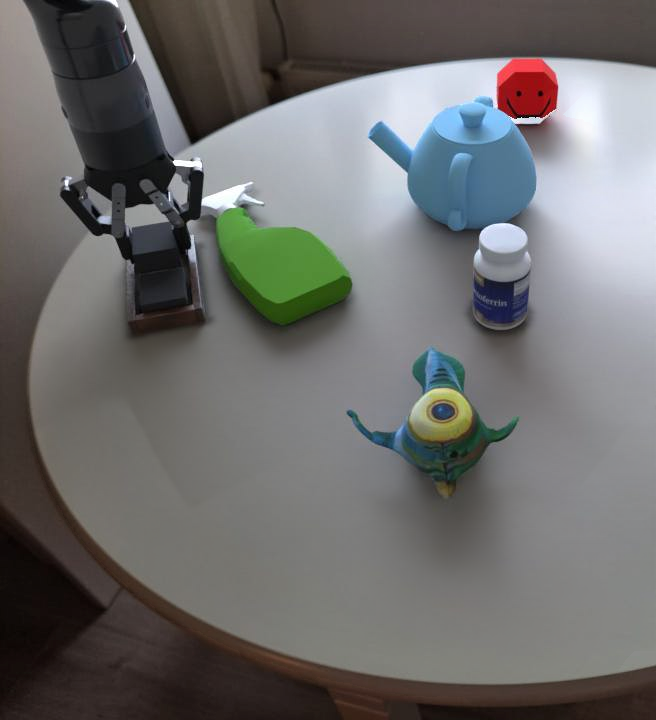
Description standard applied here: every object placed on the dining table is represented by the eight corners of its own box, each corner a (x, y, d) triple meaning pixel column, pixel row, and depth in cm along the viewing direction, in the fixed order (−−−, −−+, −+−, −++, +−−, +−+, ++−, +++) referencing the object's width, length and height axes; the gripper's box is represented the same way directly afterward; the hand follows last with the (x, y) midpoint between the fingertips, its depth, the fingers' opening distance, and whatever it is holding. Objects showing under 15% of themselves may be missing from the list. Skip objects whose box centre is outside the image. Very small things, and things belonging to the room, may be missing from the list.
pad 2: (147, 324, 82) (139, 305, 80) (146, 293, 86) (139, 274, 84) (191, 316, 83) (185, 297, 81) (188, 286, 87) (182, 267, 85)
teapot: (523, 260, 90) (530, 162, 81) (351, 239, 93) (339, 141, 84) (543, 166, 104) (551, 73, 95) (393, 150, 106) (386, 57, 97)
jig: (132, 335, 81) (127, 321, 80) (130, 258, 90) (125, 245, 88) (205, 321, 83) (201, 308, 82) (197, 247, 91) (193, 234, 90)
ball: (498, 132, 110) (500, 79, 104) (495, 103, 116) (496, 51, 110) (556, 132, 110) (561, 79, 105) (550, 103, 116) (555, 51, 110)
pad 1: (139, 274, 84) (132, 255, 83) (138, 246, 88) (131, 227, 86) (182, 267, 85) (176, 247, 83) (180, 239, 89) (174, 220, 87)
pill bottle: (461, 317, 84) (461, 240, 77) (492, 288, 87) (495, 212, 80) (507, 340, 82) (512, 263, 74) (537, 309, 85) (544, 232, 78)
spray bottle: (270, 335, 81) (179, 220, 95) (363, 294, 86) (263, 190, 100) (264, 313, 79) (172, 199, 93) (361, 272, 84) (259, 169, 98)
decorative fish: (538, 433, 73) (542, 389, 69) (447, 520, 66) (446, 477, 62) (433, 365, 79) (431, 321, 75) (341, 439, 72) (333, 395, 68)
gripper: (186, 79, 78) (224, 224, 90) (28, 99, 75) (89, 246, 87) (191, 117, 73) (230, 264, 85) (22, 140, 70) (88, 289, 82)
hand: (159, 254), depth 86 cm, fingers closed on pad 1, 4 cm apart
